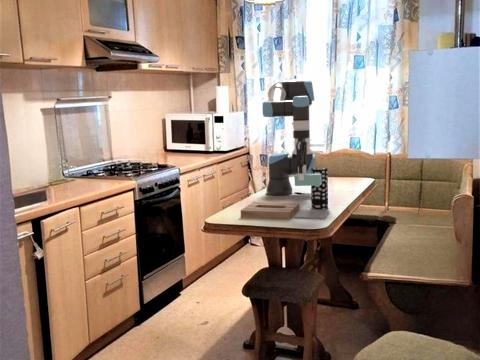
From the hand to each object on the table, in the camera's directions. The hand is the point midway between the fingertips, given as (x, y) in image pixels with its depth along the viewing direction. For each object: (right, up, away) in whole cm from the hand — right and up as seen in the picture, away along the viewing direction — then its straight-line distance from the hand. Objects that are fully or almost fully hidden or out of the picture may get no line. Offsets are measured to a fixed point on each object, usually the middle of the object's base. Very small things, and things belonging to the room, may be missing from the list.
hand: (302, 179), depth 242 cm
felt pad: (+5, -17, +2) cm, 18 cm away
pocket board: (-14, -17, +8) cm, 24 cm away
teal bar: (+3, -3, 0) cm, 4 cm away
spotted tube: (+11, -15, +16) cm, 24 cm away
